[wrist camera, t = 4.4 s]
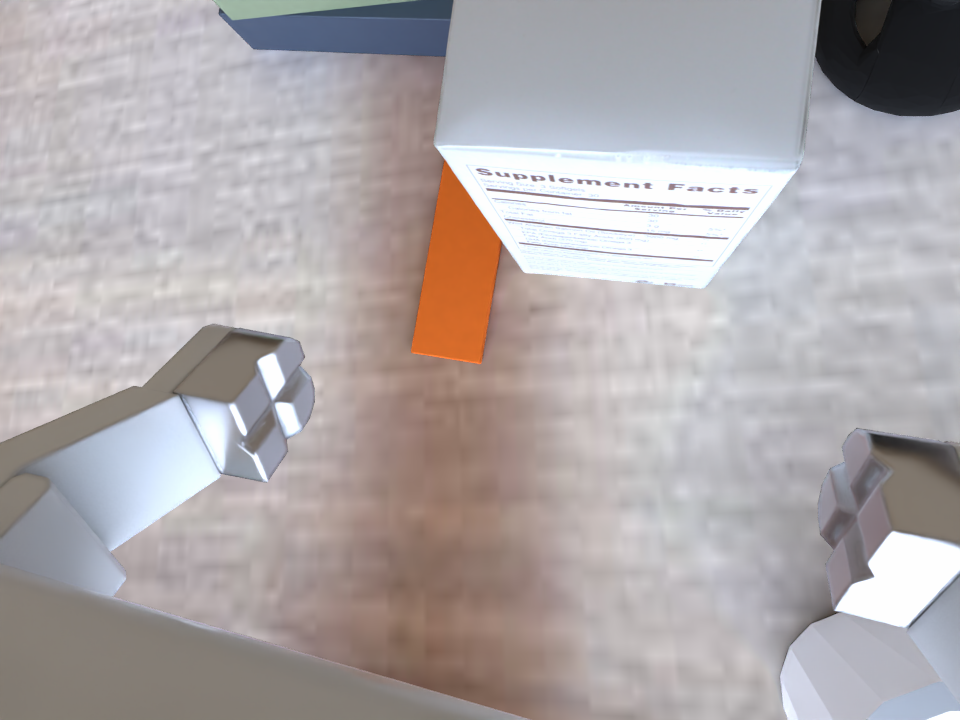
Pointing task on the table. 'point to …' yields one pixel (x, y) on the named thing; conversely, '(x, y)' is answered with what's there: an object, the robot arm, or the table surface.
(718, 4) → the white packaging box
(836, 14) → the webcam
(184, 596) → the table surface
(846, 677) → the white cup
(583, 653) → the table surface
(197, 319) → the table surface
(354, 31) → the book stack
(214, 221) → the table surface
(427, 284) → the orange rectangular block
